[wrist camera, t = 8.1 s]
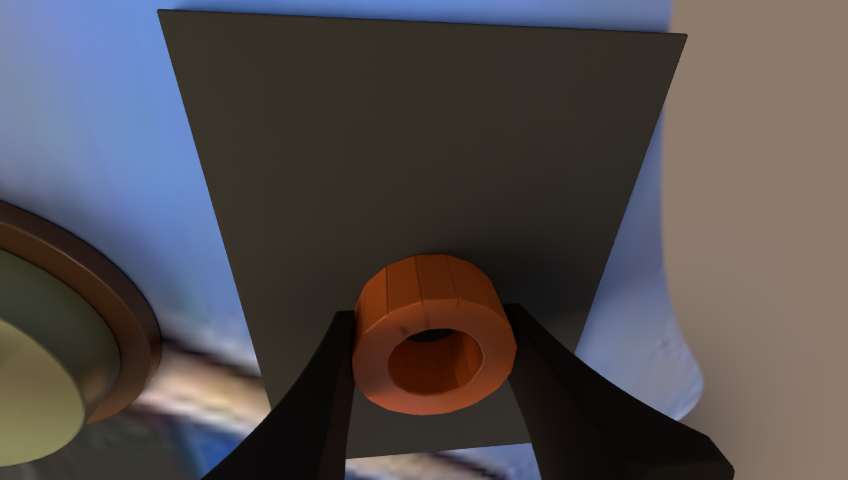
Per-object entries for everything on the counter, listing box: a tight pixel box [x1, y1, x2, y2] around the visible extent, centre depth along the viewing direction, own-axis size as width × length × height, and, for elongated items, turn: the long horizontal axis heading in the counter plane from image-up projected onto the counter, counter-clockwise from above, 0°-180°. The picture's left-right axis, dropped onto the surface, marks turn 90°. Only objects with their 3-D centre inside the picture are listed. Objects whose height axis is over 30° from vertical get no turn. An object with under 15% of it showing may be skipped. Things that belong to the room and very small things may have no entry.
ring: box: [351, 254, 517, 415], centre depth 13 cm, size 6×6×3 cm
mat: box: [157, 9, 688, 459], centre depth 15 cm, size 20×14×1 cm
